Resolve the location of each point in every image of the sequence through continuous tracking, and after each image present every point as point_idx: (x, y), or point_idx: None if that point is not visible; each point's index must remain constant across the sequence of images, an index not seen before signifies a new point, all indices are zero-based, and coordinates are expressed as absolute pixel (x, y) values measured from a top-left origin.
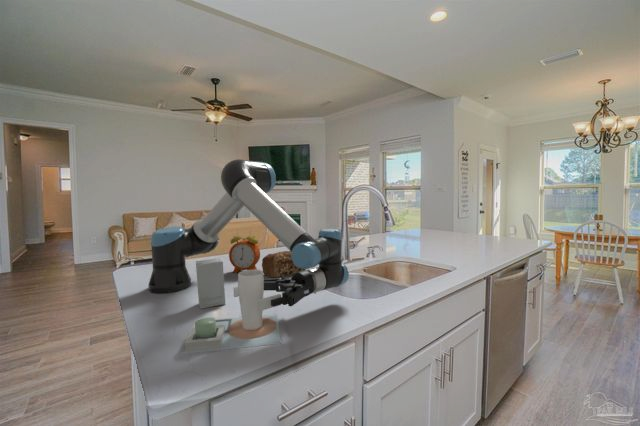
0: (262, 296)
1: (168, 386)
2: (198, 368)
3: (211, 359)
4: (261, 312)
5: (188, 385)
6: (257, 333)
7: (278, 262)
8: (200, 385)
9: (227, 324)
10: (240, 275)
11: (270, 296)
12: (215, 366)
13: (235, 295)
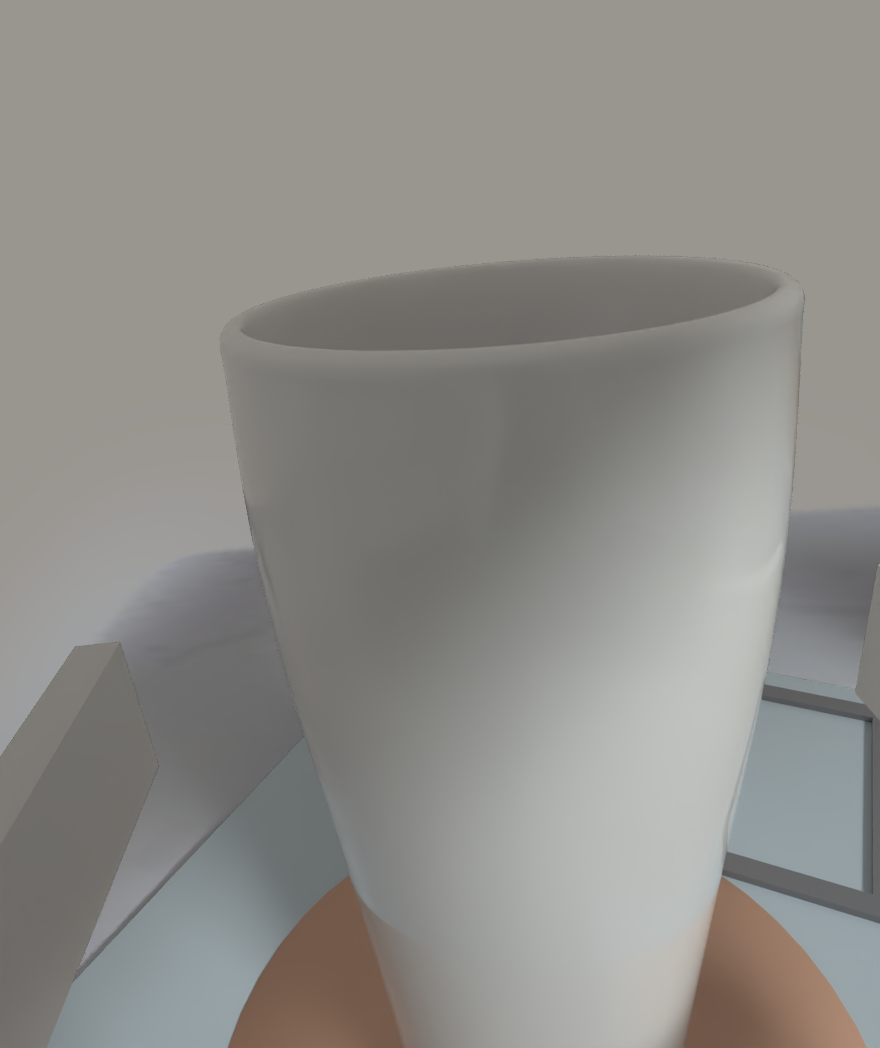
0: (345, 828)
1: (235, 578)
2: (258, 648)
3: (285, 695)
4: (400, 1017)
5: (172, 615)
6: (327, 1040)
7: None
8: (125, 640)
9: (753, 856)
10: (449, 269)
11: (21, 810)
12: (199, 697)
13: (865, 676)
